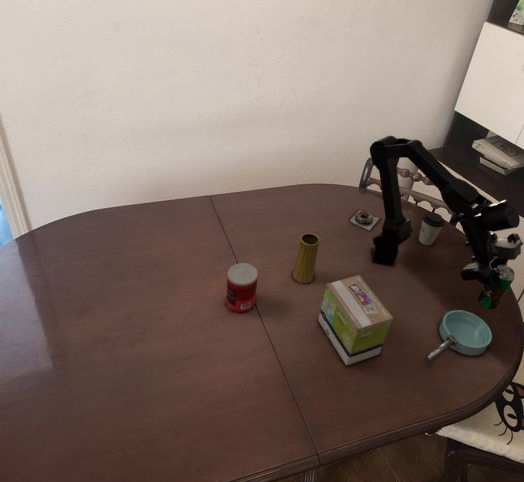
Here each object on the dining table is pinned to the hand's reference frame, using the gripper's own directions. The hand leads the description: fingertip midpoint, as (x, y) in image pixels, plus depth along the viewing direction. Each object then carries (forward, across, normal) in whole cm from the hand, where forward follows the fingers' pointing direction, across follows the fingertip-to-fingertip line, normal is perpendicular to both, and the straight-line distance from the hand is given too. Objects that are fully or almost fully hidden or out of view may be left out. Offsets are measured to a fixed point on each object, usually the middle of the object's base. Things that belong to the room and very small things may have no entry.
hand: (501, 289), depth 118 cm
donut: (-24, +11, +44) cm, 52 cm away
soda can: (+4, 0, +6) cm, 7 cm away
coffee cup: (-11, +19, +30) cm, 37 cm away
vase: (-21, -26, +40) cm, 52 cm away
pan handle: (+6, -20, +10) cm, 23 cm away
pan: (+9, -9, +10) cm, 16 cm away
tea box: (-5, -33, +24) cm, 41 cm away
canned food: (-23, -47, +43) cm, 68 cm away
